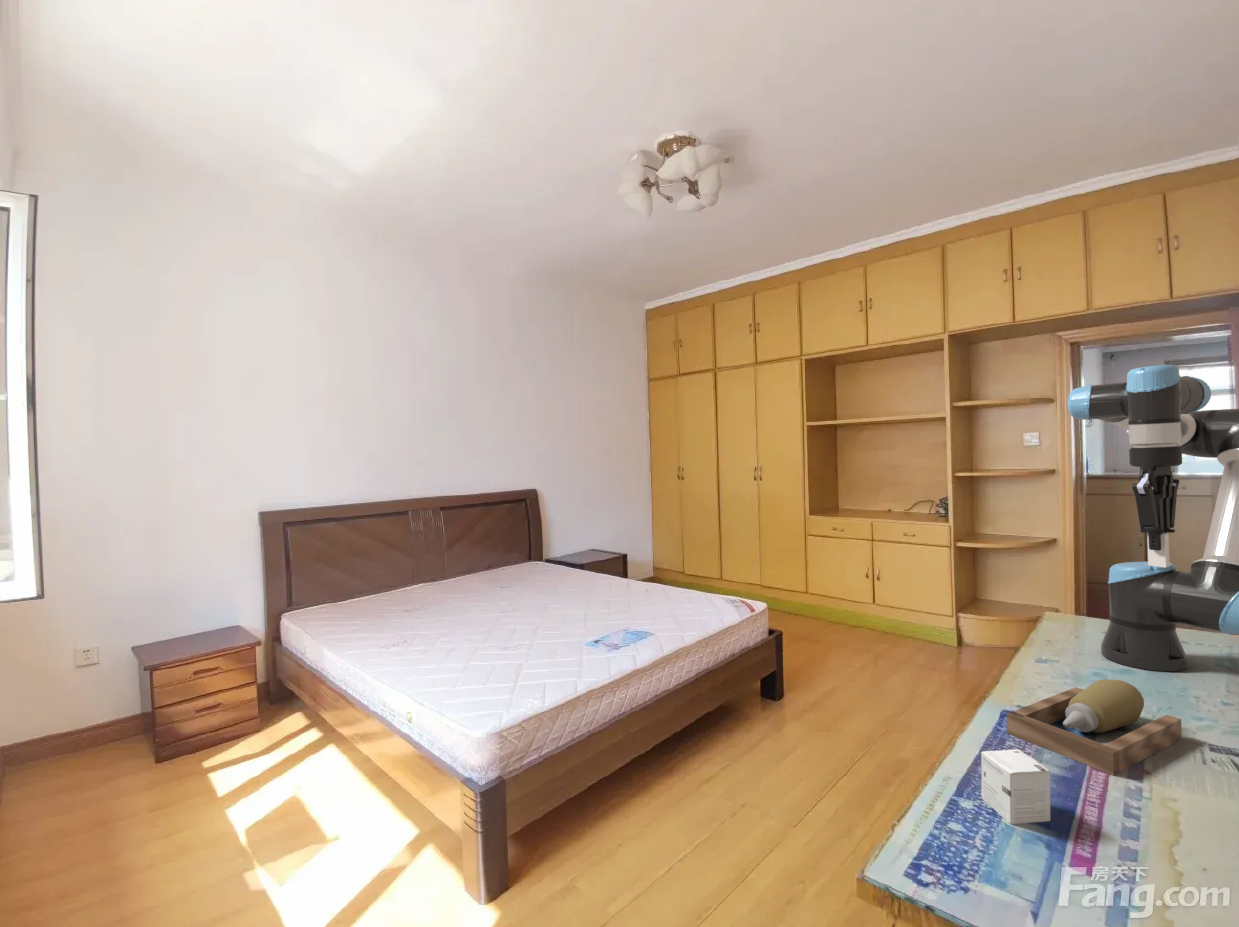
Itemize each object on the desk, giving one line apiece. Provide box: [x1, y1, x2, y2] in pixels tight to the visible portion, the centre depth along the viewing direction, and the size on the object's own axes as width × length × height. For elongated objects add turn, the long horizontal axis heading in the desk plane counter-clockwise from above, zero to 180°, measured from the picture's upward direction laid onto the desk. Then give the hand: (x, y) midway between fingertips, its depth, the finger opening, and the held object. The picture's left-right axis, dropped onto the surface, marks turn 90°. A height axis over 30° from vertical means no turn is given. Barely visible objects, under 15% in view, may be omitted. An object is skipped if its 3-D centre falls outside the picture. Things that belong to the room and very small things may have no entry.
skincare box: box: [980, 748, 1051, 825], centre depth 83 cm, size 6×6×7 cm
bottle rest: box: [1006, 686, 1182, 776], centre depth 103 cm, size 23×16×4 cm
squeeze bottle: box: [1062, 679, 1145, 734], centre depth 105 cm, size 8×8×18 cm
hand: (1158, 565), depth 113 cm, fingers closed
